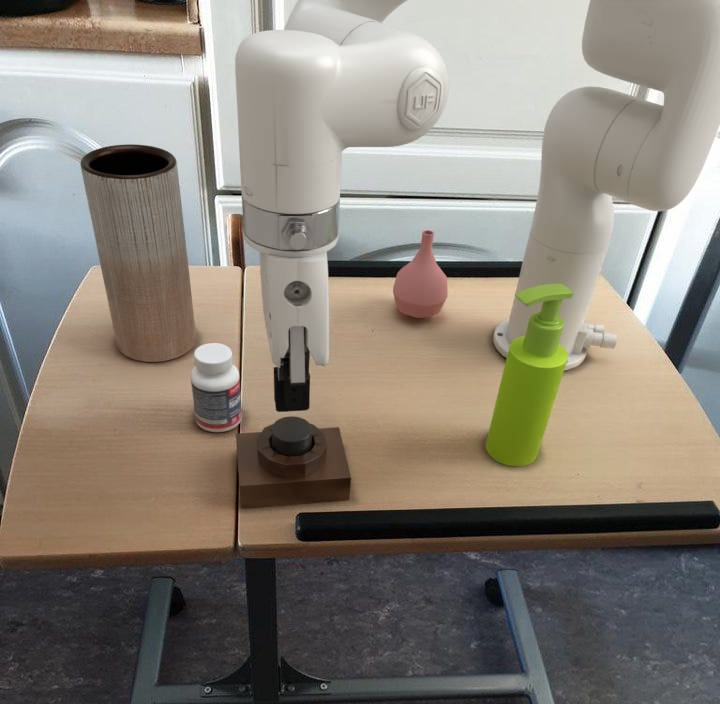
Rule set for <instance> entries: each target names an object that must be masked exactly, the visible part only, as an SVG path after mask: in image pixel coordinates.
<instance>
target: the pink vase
mask: <svg viewBox="0 0 720 704" xmlns="http://www.w3.org/2000/svg"><path fill="white" fill-rule="evenodd" d="M434 235H435V232H434V231H433V230H430V229H425V230H422V233H421V240H420V247H419V249H418V252H416V254H415V255H414V257H413V258H412V260H410V261H409V262H408V263H407V264H405V265H404V266H403V267H402V268H400V269H399V271H397V272H396V277H395V280H394V283H393V287H392V293H393V298H394V303H395V307H396V308H397V310H398V311H399V312H401V313H402V314H404V315H407V316H409V317H412V318H416V319H421V318H430V317H435V316H436V315H438V314H439V313H441V310H442V308H443V307H444V305H445V303H446V301H447V299H448V296H449V293H448V277H447V275H446V274H445V273H444V271H443V270H442V269H441V267H440V266H439V265H438V263H437V261H436V258H435V255H434V252H433V244H434V243H433V242H434Z"/></svg>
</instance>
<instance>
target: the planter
mask: <svg viewBox="0 0 720 704" xmlns="http://www.w3.org/2000/svg"><path fill="white" fill-rule="evenodd" d="M177 161H178V160H177V159H176V156H174V155H173V154H172V152H170V151H168V150H166V149H164V148H160V147H157V146H153V145H145V144H134V143H133V144H130V143H129V144H113V145H108V146H103V147H100V148H96V149H93V150H92V151H89V152H88V153H86V154H84V156H82V158H81V160H80V164H79V165H80V170H81V176H82V181H83V185H84V190H85V195H86V200H87V205H88V210H89V215H90V221H91V226H92V229H93V235H94V239H95V244H96V249H97V255H98V259H99V264H100V268H101V275H102V279H103V284H104V289H105V295H106V299H107V305H108V308H109V313H110V319H111V324H112V328H113V334H114V338H115V339H114V340H115V342H116V345H117V348H118V350H119V352H121V353H122V354H123V355H124V356H126V357H128V358H129V359H133V360H136V361H141V362H147V363H156V362H157V363H158V362H166V361H170V360H171V361H172V360H173V359H176V358H179V357H181V356H183V355H185V354H186V353H188V352H189V351H191V350H192V349H193V347H194V346H195V344H196V341H197V334H196V333H197V332H196V323H195V322H196V321H195V313H194V304H193V295H192V286H191V285H192V284H191V277H190V268H189V258H188V249H187V241H186V240H187V239H186V232H185V224H184V213H183V206H182V195H181V187H180V179H179V170H178V162H177Z"/></svg>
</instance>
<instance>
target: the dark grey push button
mask: <svg viewBox="0 0 720 704" xmlns="http://www.w3.org/2000/svg"><path fill="white" fill-rule="evenodd" d="M272 424H273V426H272V447H273V449H274V450H275V451H276V452H277V453H278V454H280V455H284V456H287V457H292V456H302V455H304V454H306V453H307V452H308V451H309V450H310V449H311V446H312V426H311V424H312V423H310V422H309V421H308V420H307V419H305V418H303V417H299V416H296V415H295V416H294V415H292V416H291V415H290V416H283V417H280V418H279V419H277V420H276V421H274V423H272Z"/></svg>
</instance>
